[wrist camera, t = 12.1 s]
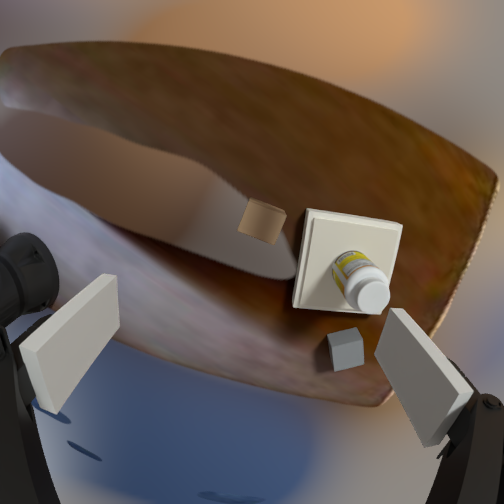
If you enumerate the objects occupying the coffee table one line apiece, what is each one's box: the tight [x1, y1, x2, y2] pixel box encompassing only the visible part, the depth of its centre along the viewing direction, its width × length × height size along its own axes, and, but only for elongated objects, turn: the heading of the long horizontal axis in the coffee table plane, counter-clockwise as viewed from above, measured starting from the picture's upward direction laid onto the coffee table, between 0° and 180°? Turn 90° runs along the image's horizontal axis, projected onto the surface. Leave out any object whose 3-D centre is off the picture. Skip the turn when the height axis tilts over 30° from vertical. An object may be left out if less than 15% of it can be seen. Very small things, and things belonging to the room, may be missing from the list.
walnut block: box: [237, 197, 287, 245], centre depth 40 cm, size 5×4×5 cm
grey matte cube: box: [327, 327, 364, 372], centre depth 46 cm, size 5×5×4 cm
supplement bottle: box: [332, 250, 390, 314], centre depth 36 cm, size 6×6×10 cm
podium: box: [292, 208, 403, 314], centre depth 42 cm, size 14×14×3 cm
